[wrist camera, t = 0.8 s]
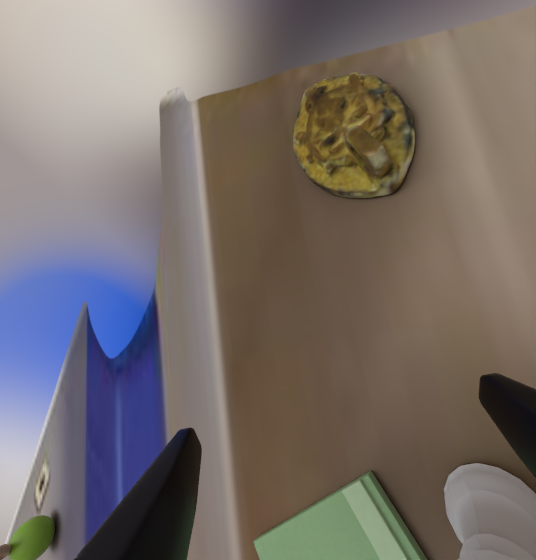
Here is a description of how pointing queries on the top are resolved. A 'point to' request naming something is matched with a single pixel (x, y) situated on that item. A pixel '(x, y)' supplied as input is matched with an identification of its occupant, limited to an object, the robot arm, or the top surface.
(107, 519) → the robot arm
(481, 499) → the rook chess piece
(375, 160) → the olive lumpy piece
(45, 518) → the snail figurine
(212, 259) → the top surface
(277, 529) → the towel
